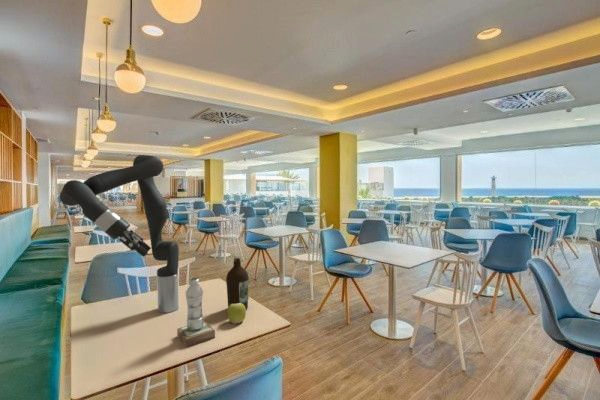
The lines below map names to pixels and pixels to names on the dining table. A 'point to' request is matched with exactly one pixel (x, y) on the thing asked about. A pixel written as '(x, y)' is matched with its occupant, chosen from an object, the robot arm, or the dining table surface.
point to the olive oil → (237, 284)
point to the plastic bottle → (194, 305)
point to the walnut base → (195, 334)
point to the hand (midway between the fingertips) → (147, 252)
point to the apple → (236, 313)
